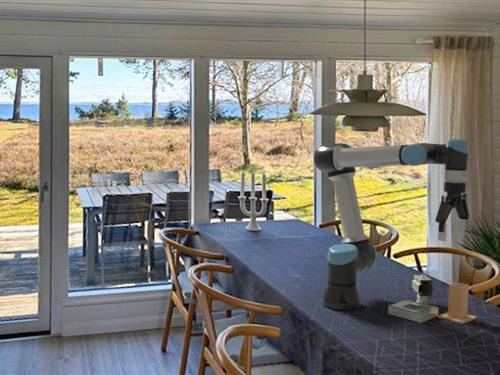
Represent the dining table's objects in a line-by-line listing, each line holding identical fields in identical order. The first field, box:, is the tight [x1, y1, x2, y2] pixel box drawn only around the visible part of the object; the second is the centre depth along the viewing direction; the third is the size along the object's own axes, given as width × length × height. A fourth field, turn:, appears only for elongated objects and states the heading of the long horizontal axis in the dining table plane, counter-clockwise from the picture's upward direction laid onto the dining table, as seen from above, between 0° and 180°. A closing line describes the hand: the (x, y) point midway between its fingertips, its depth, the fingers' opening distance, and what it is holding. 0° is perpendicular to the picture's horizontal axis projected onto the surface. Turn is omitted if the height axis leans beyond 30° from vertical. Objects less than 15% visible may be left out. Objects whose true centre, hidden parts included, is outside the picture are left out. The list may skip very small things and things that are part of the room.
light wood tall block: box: [447, 281, 470, 319], centre depth 213 cm, size 5×5×12 cm
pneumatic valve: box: [411, 274, 434, 304], centre depth 229 cm, size 6×12×12 cm, turn 2°
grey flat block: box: [387, 298, 440, 324], centre depth 217 cm, size 14×12×3 cm
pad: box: [437, 311, 478, 325], centre depth 213 cm, size 10×10×1 cm
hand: (451, 238), depth 213 cm, fingers open, 13 cm apart
